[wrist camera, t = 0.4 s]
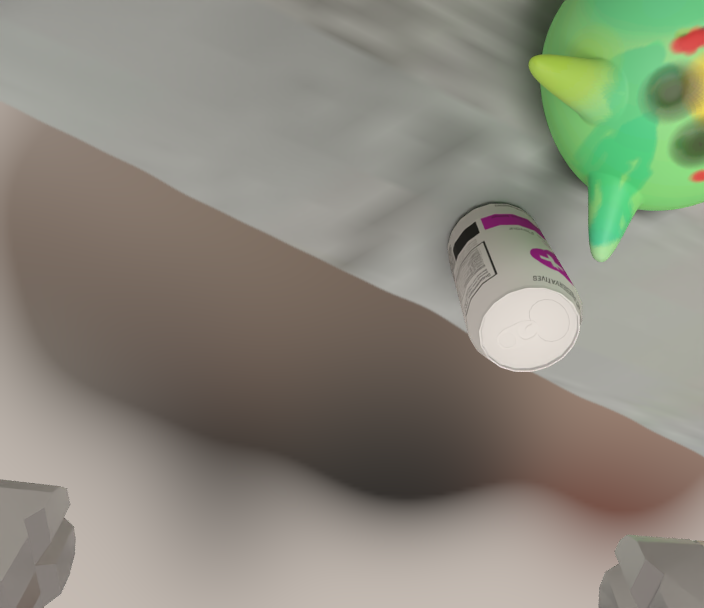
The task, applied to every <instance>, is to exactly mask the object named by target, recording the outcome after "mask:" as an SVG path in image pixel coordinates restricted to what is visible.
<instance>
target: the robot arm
mask: <svg viewBox="0 0 704 608" xmlns="http://www.w3.org/2000/svg"><path fill="white" fill-rule="evenodd" d="M69 506H70V501H69V497H68V492H67V488H64V487H61V486H52V485H44V484H35V483H26V482H18V481H9V480H0V608H44V606H45V605H47V604H48V603H49V602H51V601H52V600H53V599H55V598H56V597H57V596H59V595H60V594H61V592H62V590H63V588H64V586H65V584H66V581H67V579H68V577H69V574H70V570H71V566H72V563H73V559H74V555H75V532H74V526H72V525H71V524H70V523H69V522H68V521H67V520H66V519H65V518H64V516H65V514H66V512H67V510H68V508H69ZM615 554H616V557H617V559H618V562H619V564H617V565H616V566H614V567H613V568H611V569H610V570H608V571H606V572H605V574H604V577H603V580H602V582H601V585H600V588H599V608H704V541H697V540H695V541H692V540H689V539H676V538H662V537H648V536H636V535H626V536H625V537H624V538H622V539H621V540H620V541H619V544H618V545H617V548H616V550H615Z"/></svg>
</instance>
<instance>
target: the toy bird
mask: <svg viewBox="0 0 704 608" xmlns="http://www.w3.org/2000/svg"><path fill="white" fill-rule="evenodd" d="M529 70H530V72H531V74H532V75H533V76H534V77H535V79H536V80H537V81H538V82H539V83H540V87H541V97H542V103H543V109H544V113H545V117H546V120H547V124H548V127H549V130H550V132H551V135H552V137H553V140H554V142H555V144H556V146H557V148H558V150H559V152H560V153H561V155H562V157H563V158H564V160H565V161H566V163H567V164H568V166H569V167H570V168H571V170H572V171H573V172H574V173H575V174H576V176H577V177H578V178H579V179H580V180H581V181H582V182H583V183H584V184H585V185H587V186H588V230H589V245H590V250H591V254H592V256H593V258H594V259H595V260H596V261H599V262H604V261H606V260H607V259H608V258H609V257H610V256H611V254H612V253H613V252H614V250H615V249H616V247H617V245H618V243H619V242H620V240H621V238H622V236H623V234H624V232H625V231H626V229H627V227H628V225H629V223H630V221H631V219H632V217H633V216H634V214H635V212H636V211H637V209H639V210H650V211H661V210H673V209H679V208H684V207H689V206H692V205H696V204H699V203H702V202H704V0H565V1H564V2H563V4H562V5H561V7H560V8H559V10H558V12H557V13H556V15H555V17H554V19H553V21H552V23H551V26H550V28H549V30H548V33H547V36H546V39H545V43H544V47H543V52H542V55H536V56H534V57H532V58H531V59H530V61H529Z"/></svg>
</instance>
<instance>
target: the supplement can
mask: <svg viewBox="0 0 704 608" xmlns="http://www.w3.org/2000/svg"><path fill="white" fill-rule="evenodd" d="M448 255H449V262H450V266H451V270H452V274H453V278H454V281H455V285H456V289H457V293H458V297H459V301H460V304H461V308H462V312H463V316H464V320H465V324H466V327H467V331H468V335H469V338H470V339H471V341H472V343H473V344H474V346H475V348H476V349H477V351H478V352H480V353H481V354H482V355H484V356H485V357H486V358H488V359H489V360H490V361H492V362H494V363H495V364H496V365H498V366H499V367H501V368H505V369H508V370H511V371H514V372H533V371H536V370H540V369H543V368H547V367H549V366H551V365H553V364H554V363H556V362H557V361H559V360H561V359H562V358H564V356H565V355H566V354H567V353H568V352H569V351H570V350H571V349H572V347H573V346H574V344H575V342H576V339H577V337H578V334H579V332H580V325H581V322H582V302H581V300H580V297H579V295H578V293H577V291H576V289H575V287H574V285H573V284H572V282H571V281H570V279H569V277H568V276H567V274H566V272H565V271H564V269H563V267H562V266H561V264H560V262H559V261H558V259H557V257H556V256H555V254H554V252H553V251H552V249H551V248H550V246H549V244H548V243H547V241H546V239H545V238H544V236H543V234H542V233H541V231H540V229H539V228H538V226H537V224H536V223H535V221H534V220H533V218H531V217H530V216H529V215H528V214H527V213H526V212H525V211H523V210H522V209H520V208H517V207H515V206H512V205H509V204H488V205H485V206H482V207H479V208H476V209H474V210H472V211H471V212H469V213H468V214H467V215H465V216H464V217H463V218H461V219H460V221H459V222H458V223H457V225H456V226H455V228H454V229H453V231H452V232H451V235H450V239H449V243H448Z"/></svg>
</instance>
